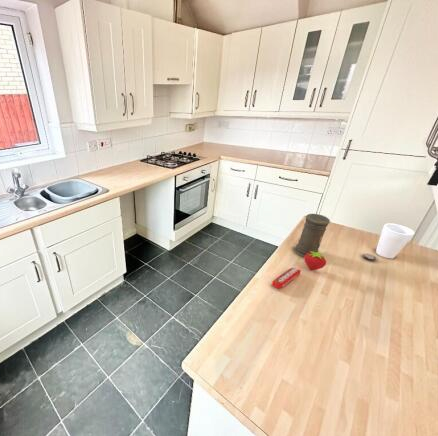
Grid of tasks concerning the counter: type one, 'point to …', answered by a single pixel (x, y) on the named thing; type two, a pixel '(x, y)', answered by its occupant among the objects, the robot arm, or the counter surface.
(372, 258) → the puck
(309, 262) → the strawberry
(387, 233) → the foam cup
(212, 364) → the counter surface
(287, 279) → the candy bar
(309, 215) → the container
